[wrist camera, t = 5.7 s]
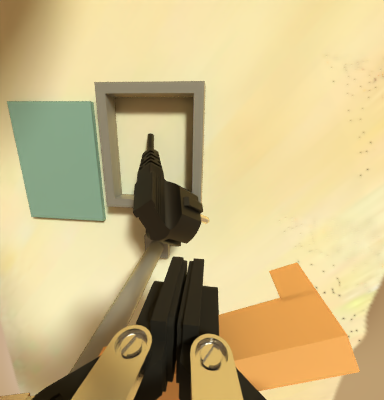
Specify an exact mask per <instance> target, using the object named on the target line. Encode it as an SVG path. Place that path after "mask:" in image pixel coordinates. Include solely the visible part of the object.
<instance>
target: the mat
mask: <svg viewBox="0 0 384 400" xmlns="http://www.w3.org/2000/svg"><path fill="white" fill-rule="evenodd" d="M7 104H8V108H9V113H10V118H11V123H12V127H13V132H14V137H15V141H16V146H17V151H18V155H19V160H20V165H21V170H22V174H23V179H24V184H25V188H26V193H27V198H28V202H29V207H30V212H31V217H44V218H61V219H78V220H96V221H104V220H105V219H106V217H105V208H104V199H103V189H102V180H101V170H100V161H99V151H98V142H97V133H96V123H95V114H94V104H93V102H90V101H7Z"/></svg>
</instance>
